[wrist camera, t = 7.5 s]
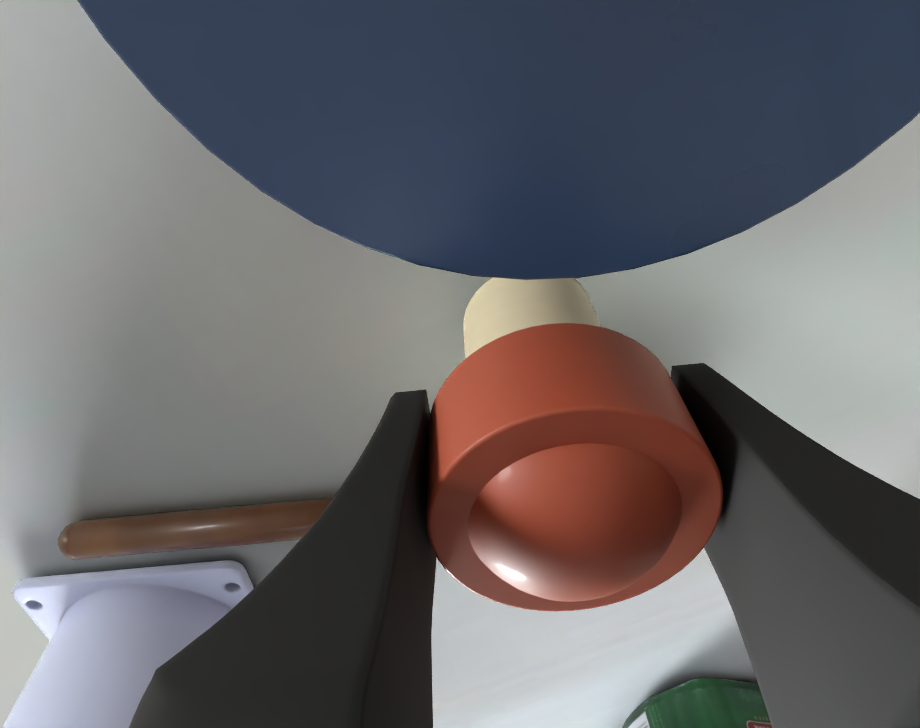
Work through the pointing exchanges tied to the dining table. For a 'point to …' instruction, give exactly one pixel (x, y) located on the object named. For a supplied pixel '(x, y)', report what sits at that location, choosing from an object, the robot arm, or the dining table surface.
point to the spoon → (190, 529)
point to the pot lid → (529, 115)
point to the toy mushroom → (562, 457)
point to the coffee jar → (703, 706)
